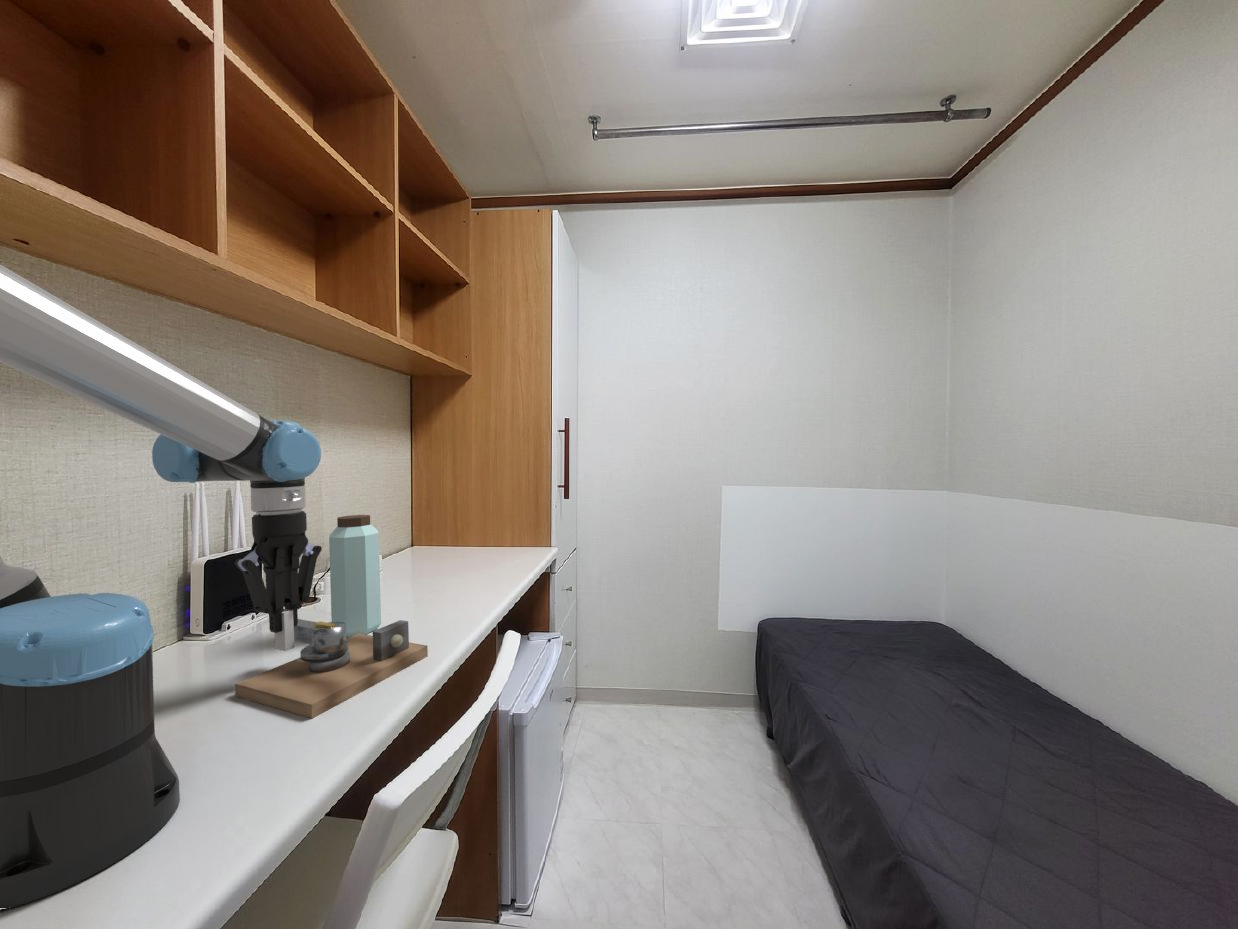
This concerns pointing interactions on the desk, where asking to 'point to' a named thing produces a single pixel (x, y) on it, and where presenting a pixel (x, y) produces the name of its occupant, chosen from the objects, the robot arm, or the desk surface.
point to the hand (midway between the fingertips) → (284, 648)
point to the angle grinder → (321, 640)
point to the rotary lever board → (334, 673)
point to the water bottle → (355, 575)
